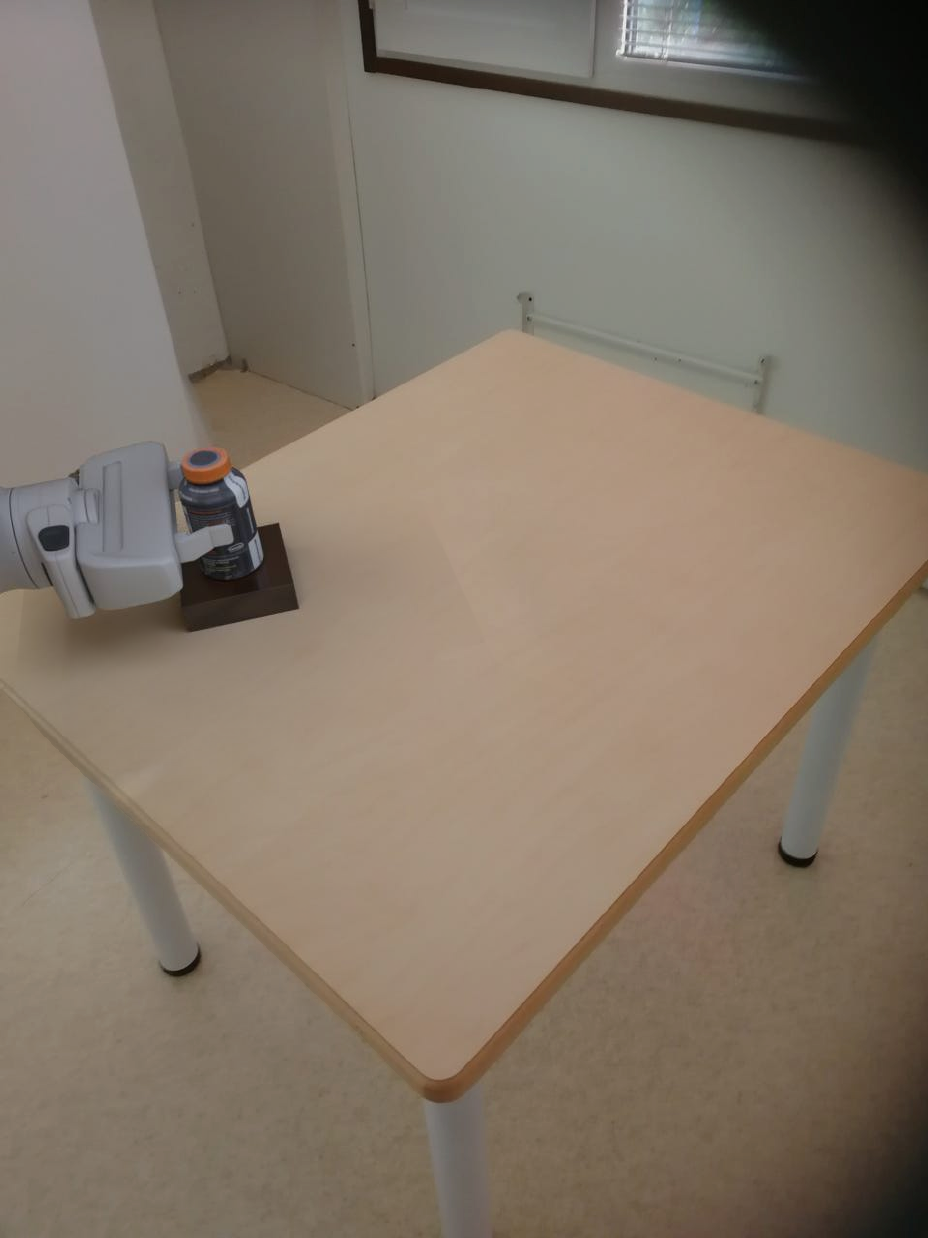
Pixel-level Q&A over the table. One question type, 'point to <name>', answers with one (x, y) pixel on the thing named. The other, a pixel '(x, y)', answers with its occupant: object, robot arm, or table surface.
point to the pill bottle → (220, 512)
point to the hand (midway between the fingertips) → (226, 500)
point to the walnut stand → (240, 588)
